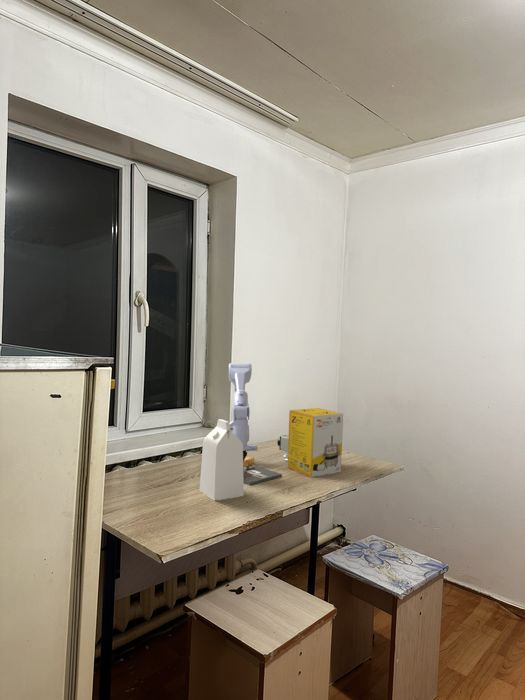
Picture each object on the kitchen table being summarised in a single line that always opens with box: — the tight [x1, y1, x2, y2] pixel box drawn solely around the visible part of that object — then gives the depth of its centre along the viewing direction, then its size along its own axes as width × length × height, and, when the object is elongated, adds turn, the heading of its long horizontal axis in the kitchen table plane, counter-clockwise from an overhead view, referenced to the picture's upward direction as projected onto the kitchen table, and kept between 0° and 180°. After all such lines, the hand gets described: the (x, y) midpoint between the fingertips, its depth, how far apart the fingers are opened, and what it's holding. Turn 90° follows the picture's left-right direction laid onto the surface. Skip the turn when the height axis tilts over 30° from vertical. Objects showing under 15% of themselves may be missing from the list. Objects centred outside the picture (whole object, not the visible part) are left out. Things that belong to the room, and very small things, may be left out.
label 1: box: [246, 470, 261, 475], centre depth 191 cm, size 5×4×1 cm
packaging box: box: [286, 407, 344, 478], centre depth 202 cm, size 16×16×25 cm
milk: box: [198, 418, 245, 502], centre depth 168 cm, size 12×12×26 cm
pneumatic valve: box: [276, 434, 288, 462], centre depth 216 cm, size 6×12×12 cm, turn 51°
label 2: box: [253, 474, 268, 479], centre depth 186 cm, size 5×4×1 cm
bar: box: [243, 456, 255, 467], centre depth 194 cm, size 16×4×3 cm, turn 145°
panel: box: [243, 463, 283, 486], centre depth 192 cm, size 20×18×2 cm
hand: (239, 469), depth 188 cm, fingers closed
